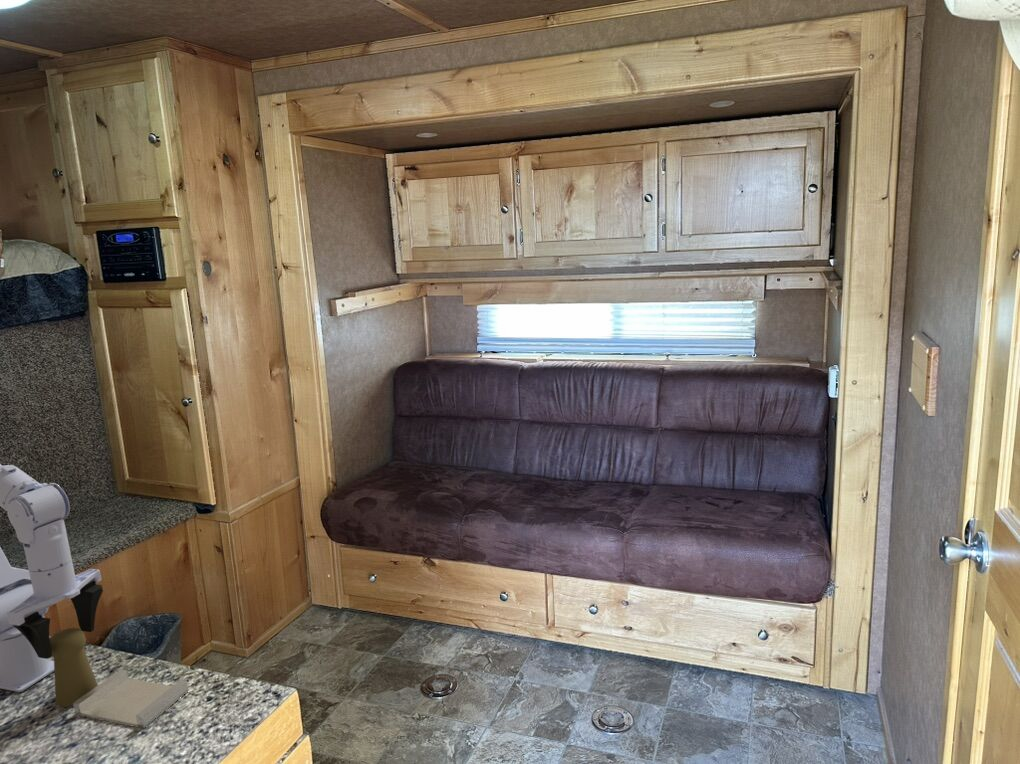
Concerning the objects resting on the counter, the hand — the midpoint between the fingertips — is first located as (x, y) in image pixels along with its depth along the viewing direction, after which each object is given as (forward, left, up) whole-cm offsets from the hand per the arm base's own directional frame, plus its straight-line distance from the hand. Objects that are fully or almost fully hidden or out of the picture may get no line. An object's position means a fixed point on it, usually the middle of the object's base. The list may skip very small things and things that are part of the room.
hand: (67, 643), depth 114 cm
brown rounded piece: (0, 0, -9) cm, 9 cm away
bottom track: (+11, +1, -9) cm, 14 cm away
